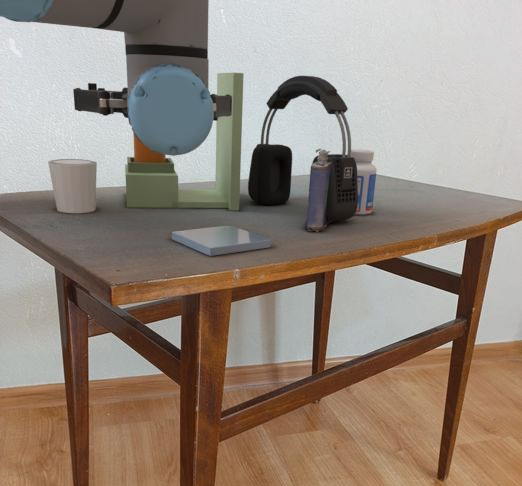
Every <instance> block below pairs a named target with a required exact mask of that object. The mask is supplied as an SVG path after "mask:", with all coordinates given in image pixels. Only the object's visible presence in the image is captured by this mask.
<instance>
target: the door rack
mask: <svg viewBox="0 0 522 486" xmlns="http://www.w3.org/2000/svg"><path fill="white" fill-rule="evenodd" d="M244 74H245V73H243V72H218V73H217V74H216V95H218V96H225V95H226V94H228V95H231V96H232V115H231V116H222V117H218V121H216V122H215V123H216V129H215V139H216V140H215V188H213V189H212V188H211V189H209V188H208V189H205V188H204V189H203V188H200V189H199V188H179V175H178V172H176V170H175V163H174V161H173V160H172V158H171V157H166V163H143V162H134V156H127V157H126V160H127V161H126V162H127V164H124V174H125V175H124V176H125V192H126V193H125V195H126V198H125V199H126V208H146V209H149V208H151V209H155V208H156V209H158V208H159V209H162V208H163V209H165V208H166V209H228V211H233V212H234V211H235V212H236V211H237V212H238V211H240V196H241V194H240V193H241V169H242V168H241V166H242V165H241V164H242V163H241V162H242V138H243V137H242V135H243V134H242V133H243V104H244V103H243V102H244V101H243V100H244V76H245V75H244Z"/></svg>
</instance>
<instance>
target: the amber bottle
mask: <svg viewBox="0 0 522 486" xmlns="http://www.w3.org/2000/svg"><path fill="white" fill-rule="evenodd" d="M132 134H133V154H134V155H133V157H134V162H143V163H166V158H167V157H166V156H167V155H165V154H160V153H157V152H155V151H152V150H151V149H149V148H148V147H146V146H145V145H144V144H143V143H141V142H140V141H139V140H138V139H137V137H136V136H135V133H134V132H133V131H132Z"/></svg>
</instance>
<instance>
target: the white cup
mask: <svg viewBox="0 0 522 486" xmlns="http://www.w3.org/2000/svg"><path fill="white" fill-rule="evenodd" d="M47 163H48V169H49V174H50V180H51V184H52V190H53V195H54V201H55V206H56V211H57V212H59V213H64V214H84V213H85V214H87V213H91V212H94V211H96V209H97V208H96V205H97V204H96V203H97V173H98V172H97V171H98V170H97V169H98V168H97V166H98V163H97V161H95V160H89V159H83V158H59V159H51V160H48V161H47Z"/></svg>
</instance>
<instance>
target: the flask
mask: <svg viewBox="0 0 522 486" xmlns="http://www.w3.org/2000/svg"><path fill="white" fill-rule="evenodd" d="M315 153H316V154H317V153H318V155H319V156H318V155H317V156H318V158H317V160H318V161H317V162H315V163H313V162H312V163H313V164H312V163H311V165H310V170H309V171H310V172H309V173H310V174H309V185H308V200H307V213H306V222H305V230H306V231H309V232H313V231H315V232H316V233H318V232H320V231H324V229H325V228H327V226H328V225H329V224H331V222H332V221H326V206H327V196H328V185H329V177H330V170H331V165H332V164H331V162H328V163H327V159H328V156H327V155H328V154H330V153H331V151H330V150H326V149H321V148H318V149H316V150H315Z"/></svg>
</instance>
